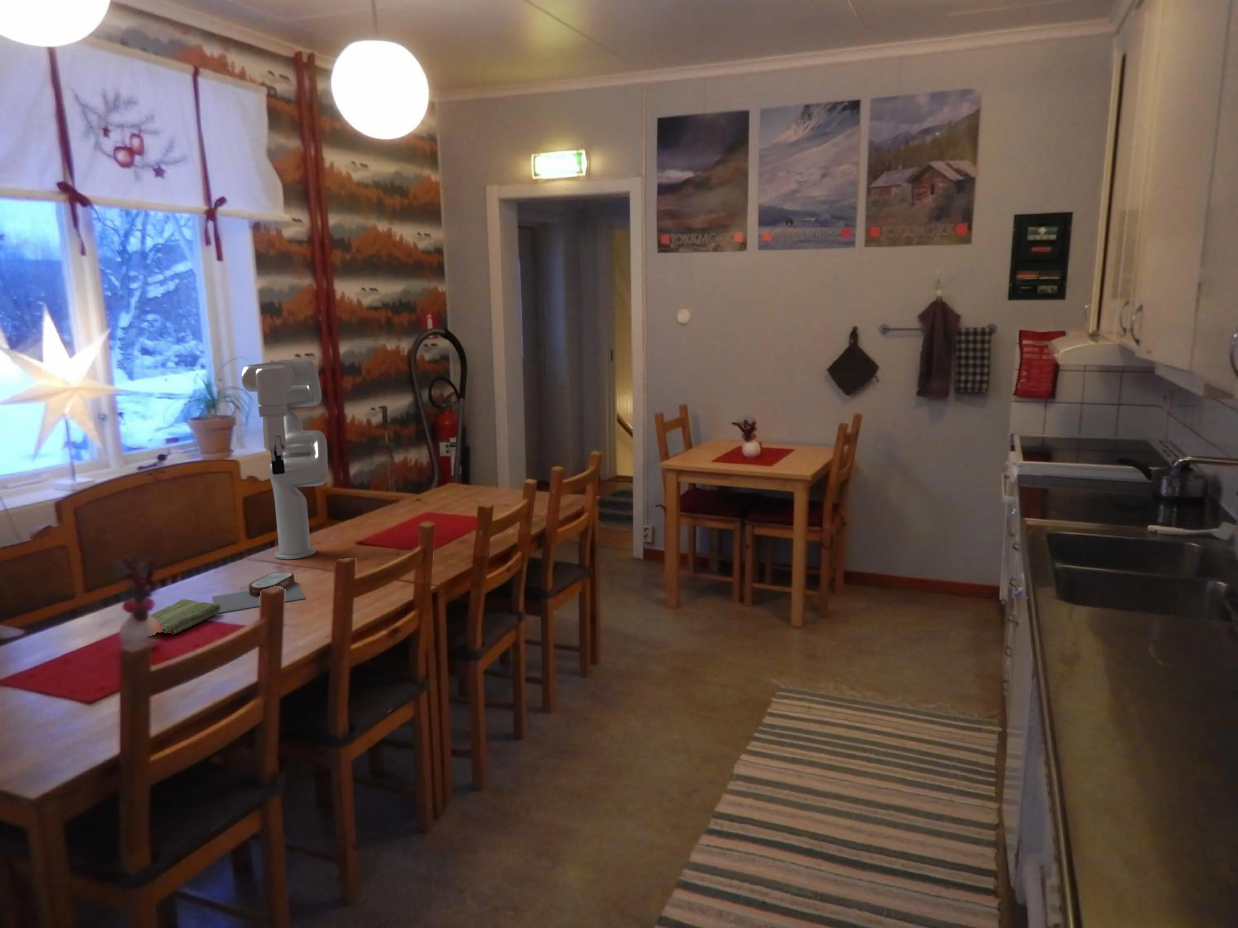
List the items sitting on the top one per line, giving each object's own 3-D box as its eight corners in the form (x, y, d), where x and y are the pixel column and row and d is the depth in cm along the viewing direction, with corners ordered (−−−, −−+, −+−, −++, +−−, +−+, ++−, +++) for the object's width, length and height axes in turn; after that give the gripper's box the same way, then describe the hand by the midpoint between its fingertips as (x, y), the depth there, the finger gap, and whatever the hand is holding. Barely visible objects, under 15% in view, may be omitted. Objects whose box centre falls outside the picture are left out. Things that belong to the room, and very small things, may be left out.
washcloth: (129, 632, 208) (127, 620, 207) (185, 607, 224) (184, 596, 224) (170, 638, 204) (169, 625, 203) (225, 612, 220) (224, 600, 220)
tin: (242, 595, 233) (270, 599, 232) (242, 584, 233) (269, 588, 231) (274, 578, 248) (300, 582, 246) (274, 568, 247) (300, 571, 246)
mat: (212, 597, 233) (212, 596, 233) (296, 584, 244) (296, 583, 244) (217, 613, 220) (217, 612, 220) (305, 598, 231) (305, 597, 231)
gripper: (255, 409, 247) (261, 471, 250) (262, 414, 234) (268, 479, 237) (282, 407, 250) (288, 468, 254) (291, 412, 238) (296, 476, 241)
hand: (278, 473), depth 245 cm, fingers closed
